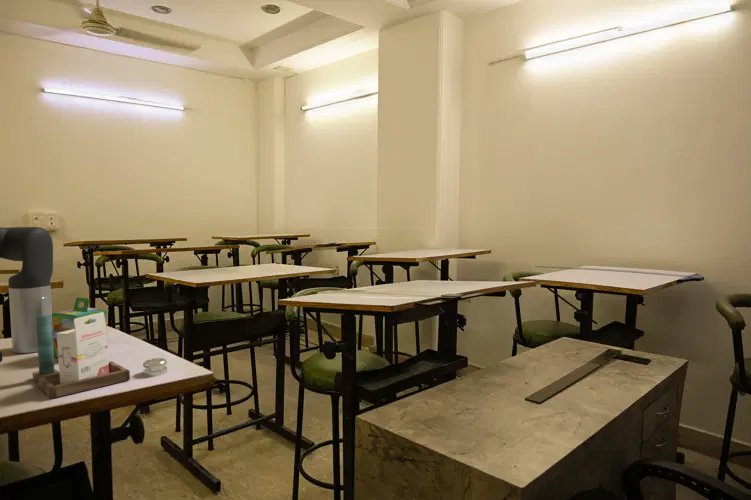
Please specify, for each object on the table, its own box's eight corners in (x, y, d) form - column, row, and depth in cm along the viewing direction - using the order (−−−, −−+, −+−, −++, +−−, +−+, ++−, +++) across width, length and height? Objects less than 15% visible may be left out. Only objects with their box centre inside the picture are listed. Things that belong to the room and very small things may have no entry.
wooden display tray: (28, 378, 107) (25, 316, 106) (100, 363, 118) (98, 307, 117) (51, 398, 95) (48, 328, 94) (129, 379, 106) (127, 317, 105)
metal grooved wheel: (160, 368, 115) (139, 373, 111) (160, 356, 114) (138, 360, 111) (171, 372, 111) (149, 378, 108) (171, 359, 111) (149, 365, 107)
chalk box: (52, 357, 124) (48, 300, 123) (85, 348, 133) (82, 294, 132) (77, 361, 121) (74, 302, 120) (109, 351, 129) (107, 296, 128)
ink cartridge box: (91, 376, 109) (87, 311, 108) (110, 377, 108) (106, 311, 107) (58, 389, 100) (54, 318, 100) (78, 390, 99) (74, 318, 99)
